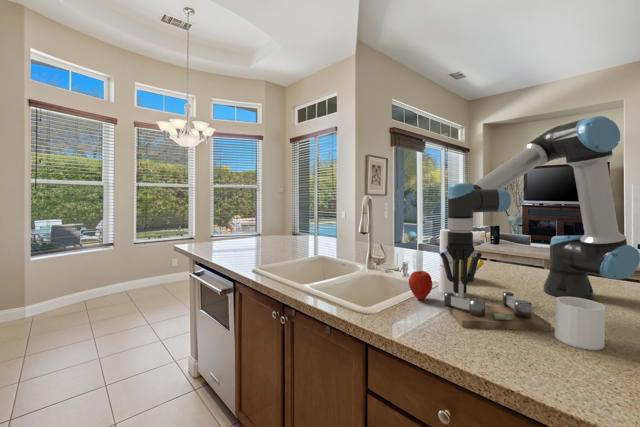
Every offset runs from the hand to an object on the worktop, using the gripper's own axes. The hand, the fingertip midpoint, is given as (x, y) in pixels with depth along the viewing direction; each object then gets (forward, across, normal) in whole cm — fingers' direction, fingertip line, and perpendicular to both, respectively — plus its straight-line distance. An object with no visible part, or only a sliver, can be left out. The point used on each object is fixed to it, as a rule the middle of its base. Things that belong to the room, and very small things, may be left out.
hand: (459, 302), depth 100 cm
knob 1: (+1, 0, +4) cm, 4 cm away
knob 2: (+1, -16, +2) cm, 16 cm away
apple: (+4, +10, -12) cm, 16 cm away
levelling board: (+4, -9, +4) cm, 11 cm away
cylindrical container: (+4, -3, -22) cm, 23 cm away
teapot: (+4, -14, -42) cm, 44 cm away
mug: (+4, -25, +16) cm, 30 cm away
